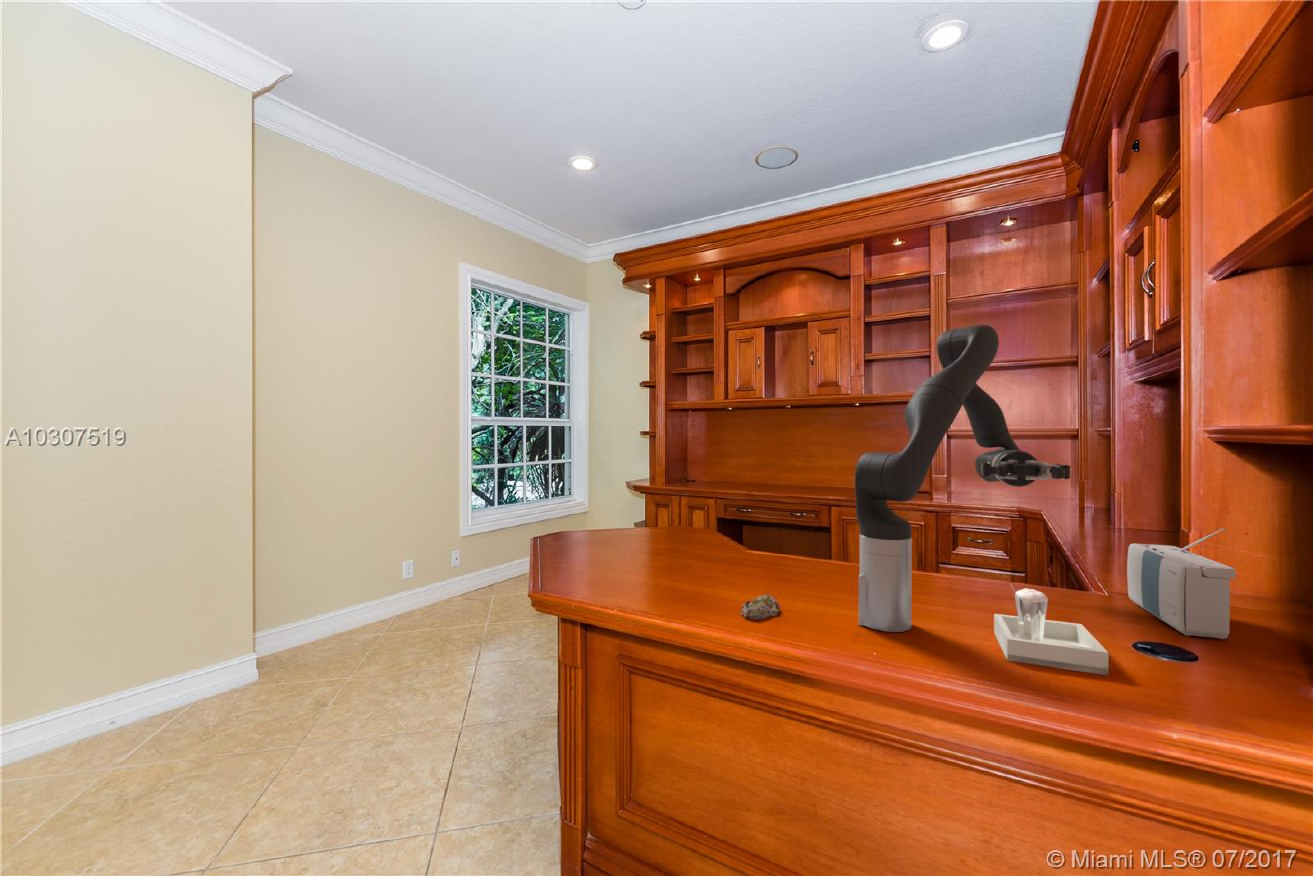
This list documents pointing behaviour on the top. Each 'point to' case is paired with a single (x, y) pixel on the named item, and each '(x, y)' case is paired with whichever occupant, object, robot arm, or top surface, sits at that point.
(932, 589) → the top surface
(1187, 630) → the stereo radio cassette player
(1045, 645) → the tray
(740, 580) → the top surface
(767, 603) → the mineral rock
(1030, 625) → the milkshake
